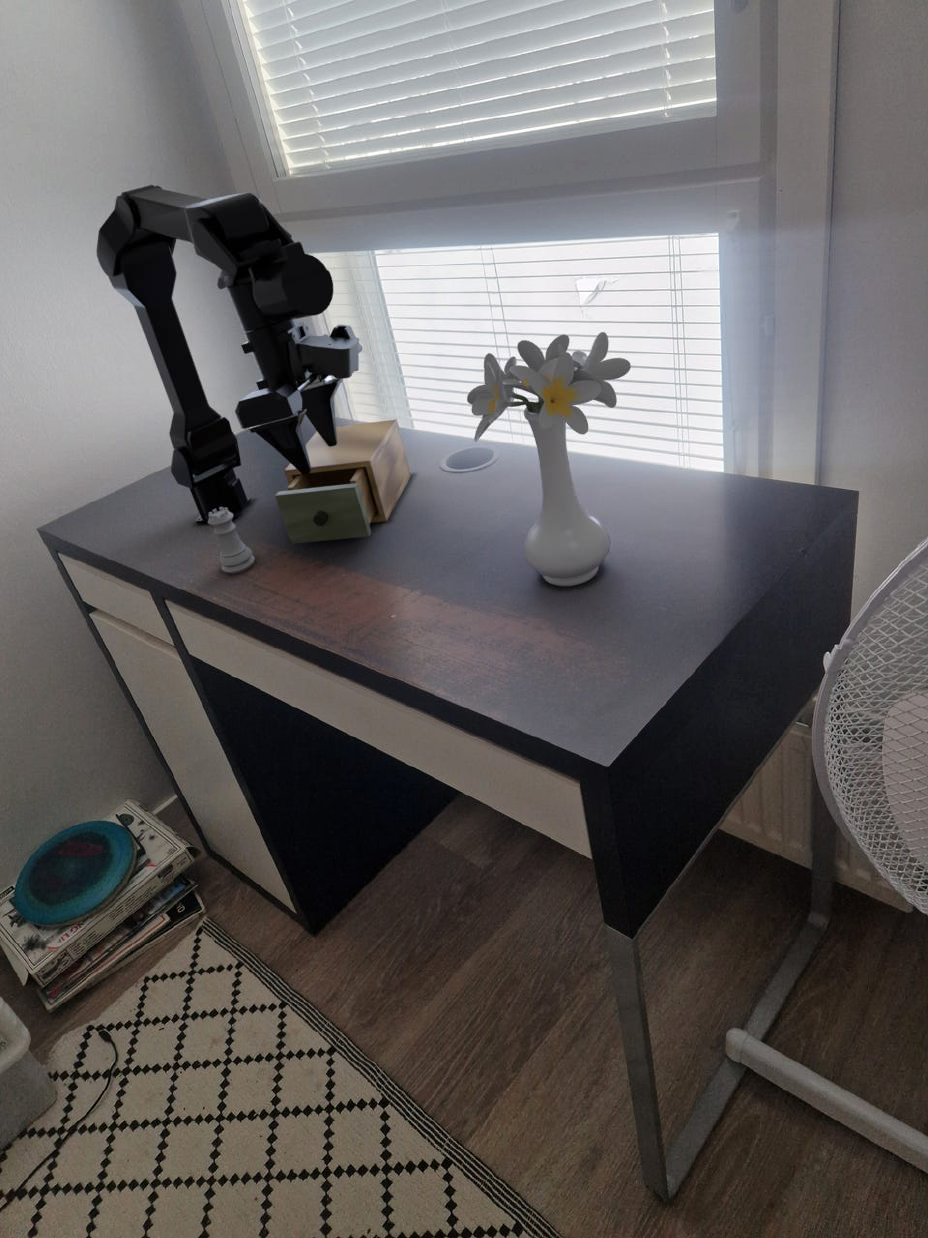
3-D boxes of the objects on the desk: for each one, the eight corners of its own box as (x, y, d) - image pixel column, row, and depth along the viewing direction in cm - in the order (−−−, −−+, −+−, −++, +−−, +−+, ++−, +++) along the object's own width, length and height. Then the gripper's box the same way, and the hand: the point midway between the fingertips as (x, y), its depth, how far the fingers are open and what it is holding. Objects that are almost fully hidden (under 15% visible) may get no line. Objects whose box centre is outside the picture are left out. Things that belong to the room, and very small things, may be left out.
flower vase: (659, 535, 96) (640, 310, 83) (585, 624, 85) (549, 379, 71) (558, 523, 104) (526, 314, 90) (477, 603, 92) (426, 378, 78)
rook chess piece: (227, 579, 109) (204, 523, 104) (219, 566, 112) (197, 512, 108) (259, 565, 110) (239, 510, 106) (251, 553, 114) (230, 499, 109)
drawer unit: (386, 521, 114) (369, 460, 109) (303, 529, 117) (284, 470, 112) (411, 475, 125) (397, 418, 120) (335, 484, 128) (318, 429, 123)
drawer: (366, 541, 108) (351, 491, 104) (288, 548, 111) (271, 499, 107) (394, 491, 119) (382, 444, 115) (322, 498, 122) (308, 453, 118)
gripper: (305, 322, 82) (360, 473, 88) (361, 288, 97) (404, 418, 104) (206, 351, 85) (266, 494, 92) (276, 313, 101) (323, 438, 108)
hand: (320, 458), depth 99 cm, fingers open, 9 cm apart
